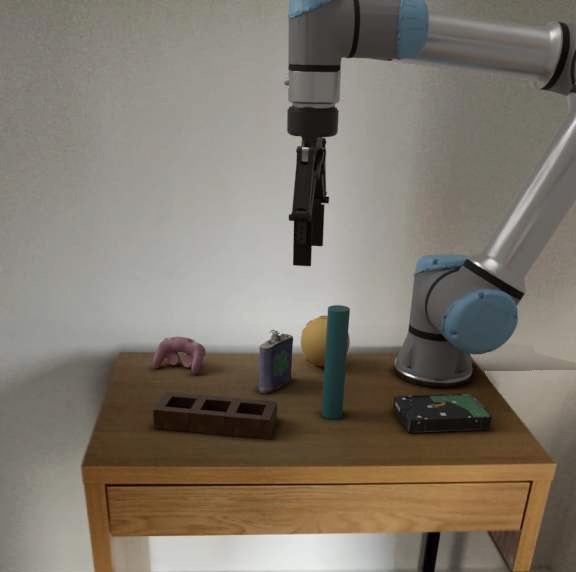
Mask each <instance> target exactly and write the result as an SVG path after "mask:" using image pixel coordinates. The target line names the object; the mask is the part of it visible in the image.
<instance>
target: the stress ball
mask: <svg viewBox="0 0 576 572" xmlns="http://www.w3.org/2000/svg"><path fill="white" fill-rule="evenodd" d="M326 333H327V315H321V316H320V315H319V316H318V317H316V318H313V319H310V321H308V322H307V323H306V325H305V327H304V328H303V329H302V332H301V336H300V348H301V351H302V354H303V355H304V357H305V358H306V359H307V360H308V361H309V362H310V363H312V364H313V365H315V366H318V367H323V368H324V367H325V350H326ZM350 339H351V338H350V334H349V333H348V342H347V353H348V351H349V349H350V344H351V341H350Z"/></svg>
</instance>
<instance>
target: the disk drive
mask: <svg viewBox="0 0 576 572" xmlns="http://www.w3.org/2000/svg"><path fill="white" fill-rule="evenodd" d="M392 408H393V410H394V412H395V414H396V415H397V417H398V418H399V420H400V422H401V423H402V424H403V426H404V428H405V429H406V431H407V432H409V433H437V432H438V433H439V432H453V431H455V432H457V431H458V432H460V431H463V432H464V431H482V430H490V429H491V427H492V422H493V415H492V414H491V413H490V412H489V411H488V409H487V408H485V405H484V404H483V403H482V404H481V403H480V401H479V400H478V399H476V398H475V395H474V394H469V393H465V394H463V393H451V394H449V393H447V394H416V395H395V396H394V397H393V405H392Z"/></svg>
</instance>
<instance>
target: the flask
mask: <svg viewBox="0 0 576 572" xmlns="http://www.w3.org/2000/svg"><path fill="white" fill-rule="evenodd" d="M269 334H271V336H270V339H268V340H266V341H264V342H263V343H262V344H260V345H259V374H258V375H259V376H258V391H259V392H258V393H260V394H265V395H266V394H268V393H273V392H274V391H275V390H278V389H280V388H281V387H282V386H284V385H285V384H288V383H291V382H292V365H293V348H294V347H293V346H294V336H293V335H292V334H288V333H281V334H280V332H279V331H278V330H276V329H271V330H270V331H269Z"/></svg>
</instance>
